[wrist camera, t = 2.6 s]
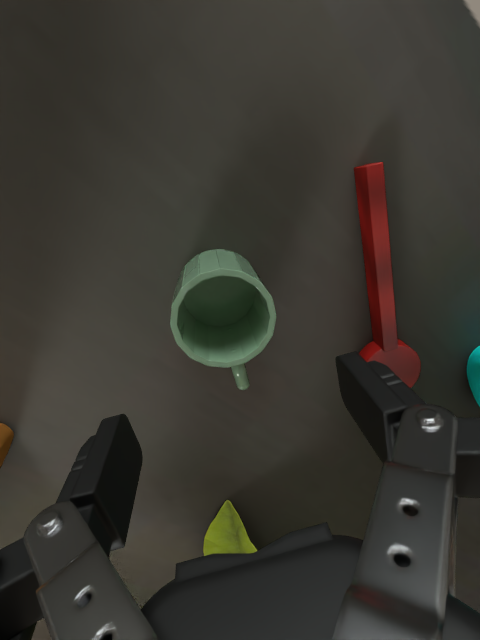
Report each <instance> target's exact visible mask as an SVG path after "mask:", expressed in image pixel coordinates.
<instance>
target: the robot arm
mask: <svg viewBox="0 0 480 640" xmlns="http://www.w3.org/2000/svg"><path fill="white" fill-rule="evenodd" d="M336 367H337V373H338V379H339V386H340V392H341V396H342V399H343V402H344V404H345V406H346V408H347V410H348V411H349V413H350V414H351V416H352V417H353V419H354V420H355V422H356V423H357V425H358V426H359V428H360V429H361V431H362V432H363V434H364V435H365V437H366V439H367V440H368V442H369V443H370V445H371V446H372V448H373V449H374V451H375V452H376V454H377V455H378V457H379V458H380V460H381V461H382V463H383V467H382V471H381V475H380V479H379V483H378V486H377V490H376V494H375V498H374V502H373V505H372V509H371V513H370V517H369V521H368V524H367V528H366V532H365V536H364V540H361V539H358V538H354V537H349V536H342V535H331V532H330V529H329V527H328V524H327V522H326V523H322V524H319V525H315V526H311V527H308V528H304V529H301V530H297V531H293V532H290V533H288V534H286V535H285V536H283V537H281V538H279V539H278V540H276V541H274V542H272V543H270V544H269V545H267V546H265V547H263V548H262V549H260V550H258V551H256V552H254V553H213V554H210V555H206V556H202V557H199V558H195V559H191V560H188V561H184V562H181V563H177V564H176V575H175V579H174V580H172V581H171V582H169V583H168V584H167V585H165V586H164V587H162V588H161V589H160V590H159V591H158V592H157V593H155V594H154V595H153V596H152V597H151V598H150V600H149V601H148V602H147V603H146V604H145V605H144V606H143V608H142V609H140V608H139V606H138V605H137V603H136V601H135V600H134V598H133V597H132V595H131V593H130V592H129V590H128V589H127V587H126V585H125V584H124V582H123V581H122V579H121V577H120V576H119V574H118V573H117V571H116V569H115V568H114V566H113V565H112V563H111V561H110V560H109V554H110V551H112V550H116V549H120V548H123V547H125V542H126V538H127V533H128V528H129V523H130V519H131V514H132V509H133V504H134V500H135V495H136V490H137V485H138V481H139V476H140V471H141V466H142V451H141V447H140V444H139V442H138V440H137V438H136V435H135V433H134V431H133V429H132V427H131V424H130V422H129V420H128V418H127V416H126V415H125V414H120V415H116V416H113V417H109V418H105V419H103V420H102V421H101V424H100V426H99V428H98V431H97V433H96V435H95V436H91V437H90V438H89V439H88V440H87V442H86V443H85V444H84V445H83V446H82V447H81V449H80V451H79V453H78V455H77V457H76V462H74V464H73V466H72V468H71V472H70V473H69V475H68V477H67V479H66V481H65V484H64V486H63V488H62V490H61V492H60V495H59V497H58V499H57V501H56V503H55V504H53V505H51V506H49V507H47V508H46V509H44V510H43V511H42V512H40V513H39V514H38V515H37V516H36V517H35V518H34V519H33V520H32V521H31V523H30V524H29V526H28V527H27V529H26V531H25V533H24V537H23V538H22V539H20V540H18V541H16V542H14V543H12V544H10V545H8V546H6V547H5V548H3V549H1V550H0V640H31V638H32V635H33V632H34V629H35V626H36V623H37V621H39V620H40V619H42V618H45V621H46V624H47V627H48V630H49V633H50V636H51V639H52V640H480V613H478V612H477V611H475V610H474V609H472V608H470V607H469V606H467V605H466V604H464V603H463V602H461V601H460V600H458V599H457V598H455V573H456V540H457V518H458V497H466V498H480V418H457V417H455V415H454V414H453V413H452V412H450V411H449V410H447V409H445V408H443V407H441V406H437V405H433V404H426V403H425V402H424V401H423V400H422V399H421V398H420V397H419V396H418V395H417V394H416V393H415V392H414V391H413V390H412V389H411V388H410V387H409V386H407V385H406V384H405V383H404V382H402V380H401V379H400V378H399V377H398V376H397V375H395V373H394V372H393V371H392V370H391V369H390V368H389V367H388V366H387V365H384V364H382V363H380V362H377V361H375V360H373V361H370V362H366V361H365V360H364V359H363V358H362V357H361V355H360V354H359V353H358V352H356V351H355V352H351V353H347V354H344V355H340V356H337V357H336Z"/></svg>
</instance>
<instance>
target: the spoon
mask: <svg viewBox="0 0 480 640" xmlns="http://www.w3.org/2000/svg"><path fill="white" fill-rule="evenodd" d="M354 174H355V183H356V192H357V201H358V210H359V219H360V227H361V236H362V245H363V254H364V263H365V272H366V281H367V290H368V299H369V308H370V317H371V326H372V335H373V341H372V342H370V343H369V344H367V345H366V346H365V347H364V348H363V349H362V350H361V351H360V352H359V354H360V355H361V357H362V358H363V359H364V360H365V361H366V362H370V361H373V360H375V361H377V362H380V363H382V364H384V365H387V366H388V367H389V368H390V369H391V370H392V371H393V372H394V373H395V375H397V376H398V377H399V378H400V379H401V380H402V382H404V383H405V384H406V385H407V386H409V387H410V388H411V387H412V386H413V385H414V384H415V382H416V381H417V379H418V377H419V374H420V371H421V362H420V358H419V356H418V354H417V353H416V352H415V351H414V350H413V349H412V348H411V347H409V346H408V345H407V344H405V343H404V342H403V341H401V340H399V339H398V338H397V326H396V314H395V301H394V289H393V277H392V264H391V252H390V240H389V228H388V215H387V203H386V191H385V179H384V166H383V162H379V163H370V164H366V165H362V166H358V167H355V168H354Z"/></svg>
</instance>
